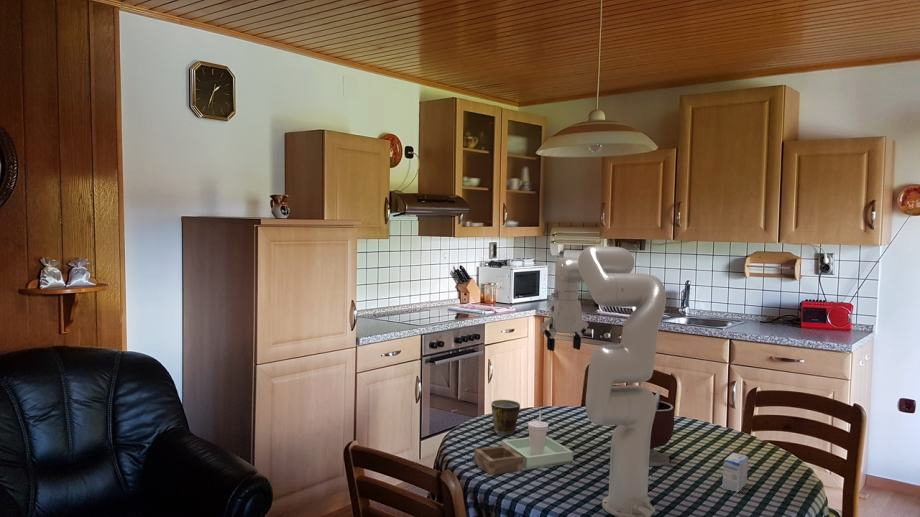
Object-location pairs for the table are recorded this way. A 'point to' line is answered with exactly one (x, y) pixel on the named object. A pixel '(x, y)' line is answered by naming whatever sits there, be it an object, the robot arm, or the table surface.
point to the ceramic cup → (505, 416)
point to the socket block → (498, 460)
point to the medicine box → (735, 472)
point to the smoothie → (537, 436)
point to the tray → (550, 456)
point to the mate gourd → (661, 431)
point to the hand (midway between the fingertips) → (563, 349)
